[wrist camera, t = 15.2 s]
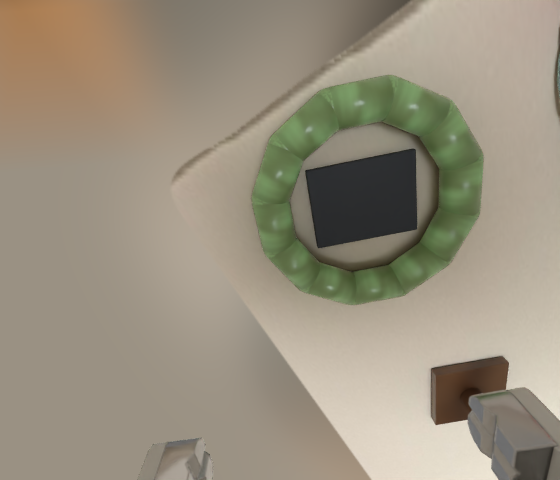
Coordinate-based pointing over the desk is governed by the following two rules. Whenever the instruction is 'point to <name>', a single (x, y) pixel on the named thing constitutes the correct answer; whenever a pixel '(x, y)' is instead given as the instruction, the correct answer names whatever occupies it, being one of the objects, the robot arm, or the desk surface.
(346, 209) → the mat
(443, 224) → the ring
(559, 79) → the sunglasses
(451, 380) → the stand
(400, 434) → the desk surface
